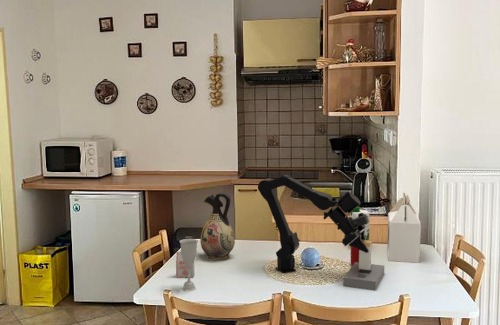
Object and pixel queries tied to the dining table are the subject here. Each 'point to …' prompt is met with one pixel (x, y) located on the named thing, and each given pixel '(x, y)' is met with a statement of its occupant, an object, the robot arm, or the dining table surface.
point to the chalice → (188, 259)
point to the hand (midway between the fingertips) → (368, 250)
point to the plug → (365, 256)
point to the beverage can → (354, 255)
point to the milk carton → (355, 214)
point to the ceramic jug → (217, 230)
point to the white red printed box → (182, 267)
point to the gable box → (403, 232)
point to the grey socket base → (364, 277)
